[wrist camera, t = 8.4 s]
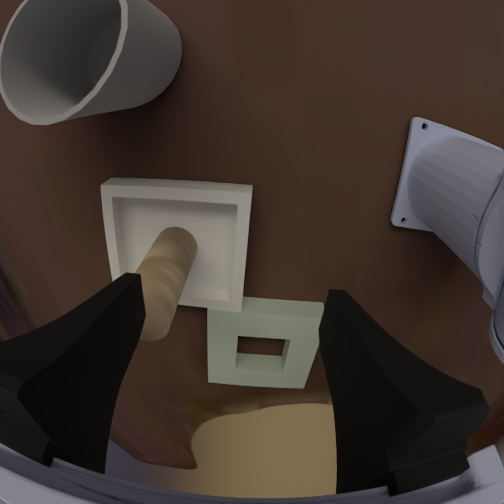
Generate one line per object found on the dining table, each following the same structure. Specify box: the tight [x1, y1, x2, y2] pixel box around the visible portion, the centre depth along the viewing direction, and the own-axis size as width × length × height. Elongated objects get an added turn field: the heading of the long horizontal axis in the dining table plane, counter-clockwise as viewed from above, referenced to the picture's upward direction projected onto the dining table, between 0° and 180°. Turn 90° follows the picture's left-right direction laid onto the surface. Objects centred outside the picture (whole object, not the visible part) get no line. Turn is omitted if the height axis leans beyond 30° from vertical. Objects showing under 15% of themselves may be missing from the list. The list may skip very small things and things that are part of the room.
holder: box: [207, 297, 324, 388], centre depth 25 cm, size 9×9×2 cm
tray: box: [101, 178, 253, 311], centre depth 21 cm, size 10×9×2 cm
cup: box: [0, 0, 182, 125], centre depth 12 cm, size 7×10×9 cm
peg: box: [135, 227, 197, 341], centre depth 18 cm, size 3×3×8 cm
